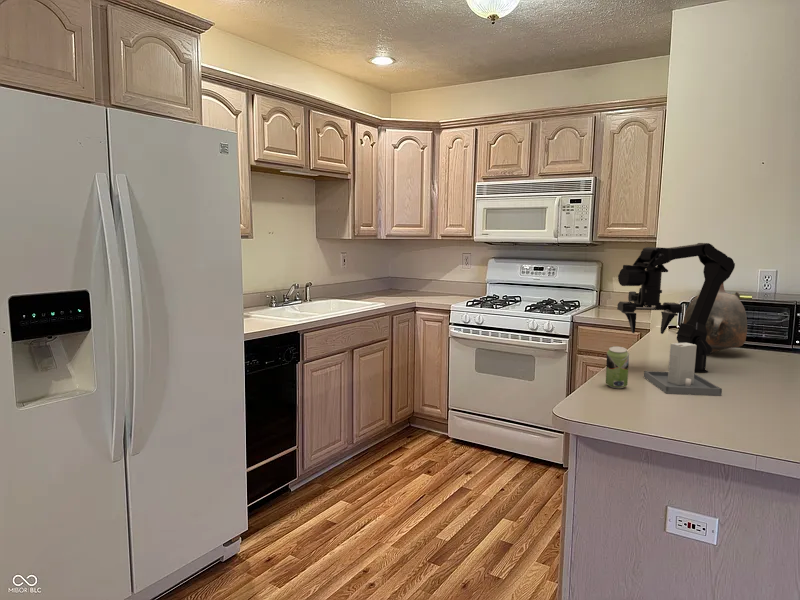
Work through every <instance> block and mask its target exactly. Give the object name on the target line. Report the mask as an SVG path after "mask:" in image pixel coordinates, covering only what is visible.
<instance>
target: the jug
mask: <svg viewBox="0 0 800 600" xmlns="http://www.w3.org/2000/svg"><path fill="white" fill-rule="evenodd" d="M698 297H699V294H698V295H697V296H695V297H694V298H693V299H692V300H691V301H690V303H689V304H688V307H687V308H686V311H685V314H684V318H683V321H682V323H684V324H686V323H687V322H688V321H689V320H690V318H691V315H692V312H693V310H694V307H695V305H696V302H697V299H698ZM740 297H741V295H740V293H739V292H738V291H735V293H734V294H732V293H727V292H726V290H725V286H724V282H723V283H722V284H721V286H720V289H719V291H718V294H717V297H716V299H715V302H714V304H713V307H712V309H711V312H710V315H709V317H708V320H707V322H706V330H707V337H706V342H707V343H708V344H709V345H710V346H711V348H712V351H711V354H713V353H717V352H719V351H722V350H727V349H735V348H739V347H742V346H743V345H744V344H745V342H746V340H747V335H748V318H747V317H748V316H747V313H746V312H747V311H746V308H745V306H744V304H743V303H742V301H741V300H740Z"/></svg>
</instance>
